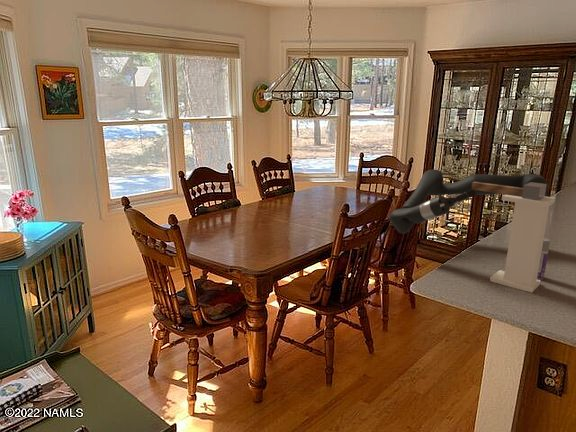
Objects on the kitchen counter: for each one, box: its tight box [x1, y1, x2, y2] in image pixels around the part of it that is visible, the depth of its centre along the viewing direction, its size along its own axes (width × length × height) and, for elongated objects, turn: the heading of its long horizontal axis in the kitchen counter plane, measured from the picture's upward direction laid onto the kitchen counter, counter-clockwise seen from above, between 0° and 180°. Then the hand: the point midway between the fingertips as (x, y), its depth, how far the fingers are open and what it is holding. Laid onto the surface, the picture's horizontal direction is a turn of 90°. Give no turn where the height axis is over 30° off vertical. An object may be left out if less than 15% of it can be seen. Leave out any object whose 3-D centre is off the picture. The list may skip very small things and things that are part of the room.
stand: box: [489, 194, 556, 293], centre depth 152 cm, size 14×10×32 cm
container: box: [537, 237, 551, 281], centre depth 159 cm, size 5×5×15 cm
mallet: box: [472, 182, 547, 201], centre depth 152 cm, size 23×8×4 cm, turn 47°
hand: (471, 193), depth 161 cm, fingers open, 8 cm apart
